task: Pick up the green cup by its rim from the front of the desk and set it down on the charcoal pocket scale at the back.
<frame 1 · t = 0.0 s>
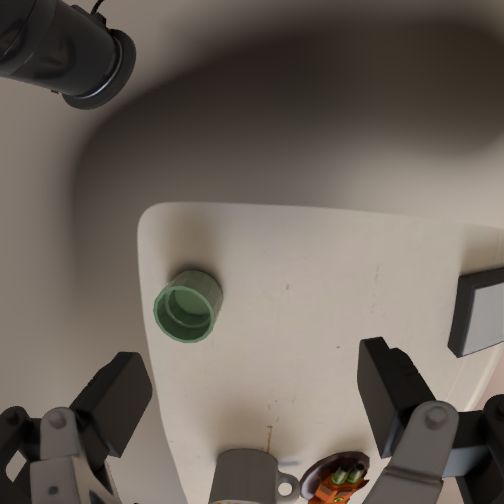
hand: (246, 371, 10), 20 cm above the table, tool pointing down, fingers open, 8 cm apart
toy spacecraft: (332, 479, 39), on the table
coffee mug: (257, 464, 38), on the table
green cup: (196, 295, 31), on the table
scale: (480, 306, 29), on the table
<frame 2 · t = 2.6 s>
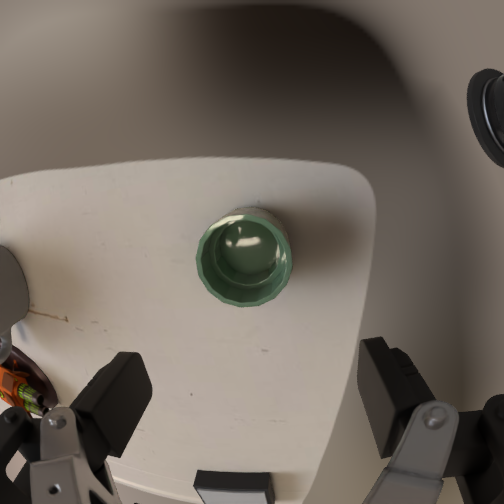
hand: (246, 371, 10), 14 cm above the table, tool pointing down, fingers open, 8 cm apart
toy spacecraft: (15, 371, 31), on the table
coffee mug: (9, 295, 27), on the table
green cup: (250, 244, 23), on the table
scale: (238, 487, 32), on the table
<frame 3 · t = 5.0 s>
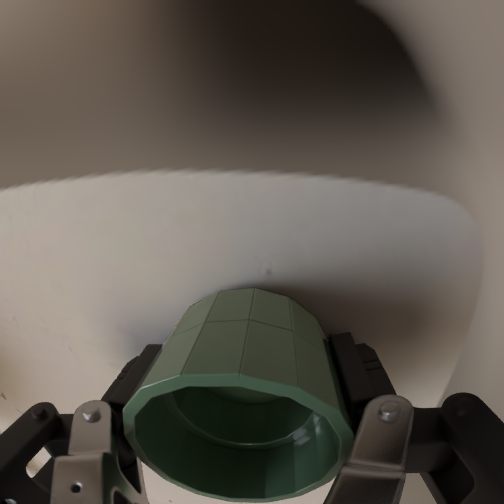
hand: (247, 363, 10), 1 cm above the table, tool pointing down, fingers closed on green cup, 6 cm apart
green cup: (249, 354, 11), on the table, touching gripper
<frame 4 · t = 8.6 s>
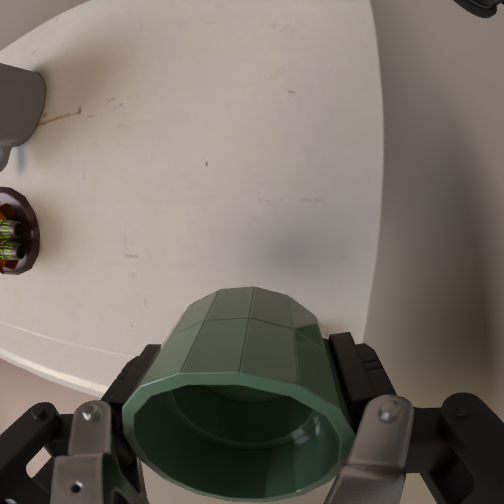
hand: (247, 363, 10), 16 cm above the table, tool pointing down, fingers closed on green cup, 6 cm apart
coffee mug: (19, 121, 24), on the table
green cup: (249, 353, 11), point 16 cm above the table, touching gripper
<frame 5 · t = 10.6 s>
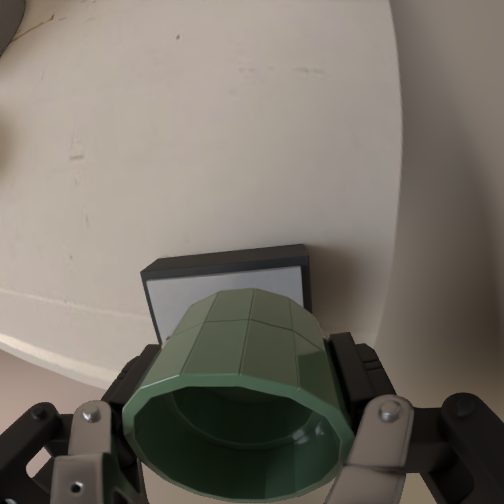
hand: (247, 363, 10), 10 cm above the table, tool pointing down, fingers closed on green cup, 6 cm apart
green cup: (249, 354, 11), point 9 cm above the table, touching gripper
scale: (237, 319, 20), on the table
when the fingers open (4 cm above the table, at t = 12.5 s): green cup stays where it is, resting on scale.
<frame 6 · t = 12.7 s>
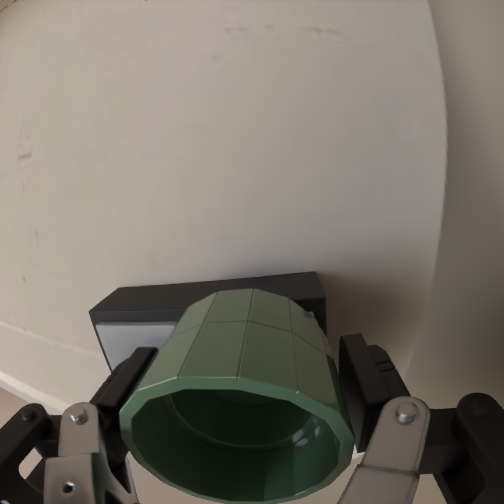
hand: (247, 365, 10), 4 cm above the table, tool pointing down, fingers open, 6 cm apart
green cup: (248, 355, 11), point 3 cm above the table, touching scale
scale: (224, 367, 15), on the table
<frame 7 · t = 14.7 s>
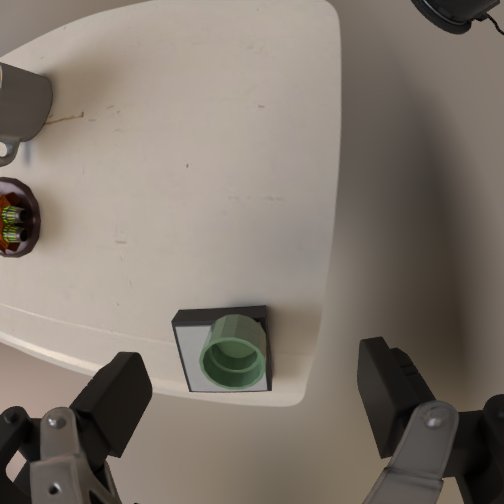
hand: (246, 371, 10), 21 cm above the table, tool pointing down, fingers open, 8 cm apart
toy spacecraft: (2, 217, 31), on the table
coffee mug: (27, 120, 28), on the table
green cup: (237, 337, 29), point 3 cm above the table, touching scale
scale: (226, 345, 33), on the table
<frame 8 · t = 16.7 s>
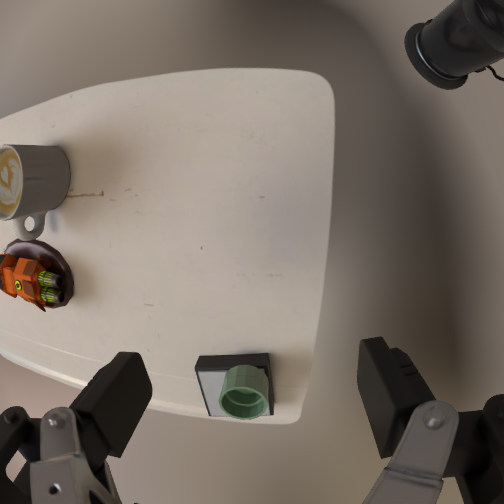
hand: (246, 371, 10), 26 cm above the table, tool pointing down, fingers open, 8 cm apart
toy spacecraft: (34, 273, 39), on the table
coffee mug: (48, 189, 36), on the table
green cup: (246, 379, 36), point 3 cm above the table, touching scale
scale: (237, 381, 41), on the table
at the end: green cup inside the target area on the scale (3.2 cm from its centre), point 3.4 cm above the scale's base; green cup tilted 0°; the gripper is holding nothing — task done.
